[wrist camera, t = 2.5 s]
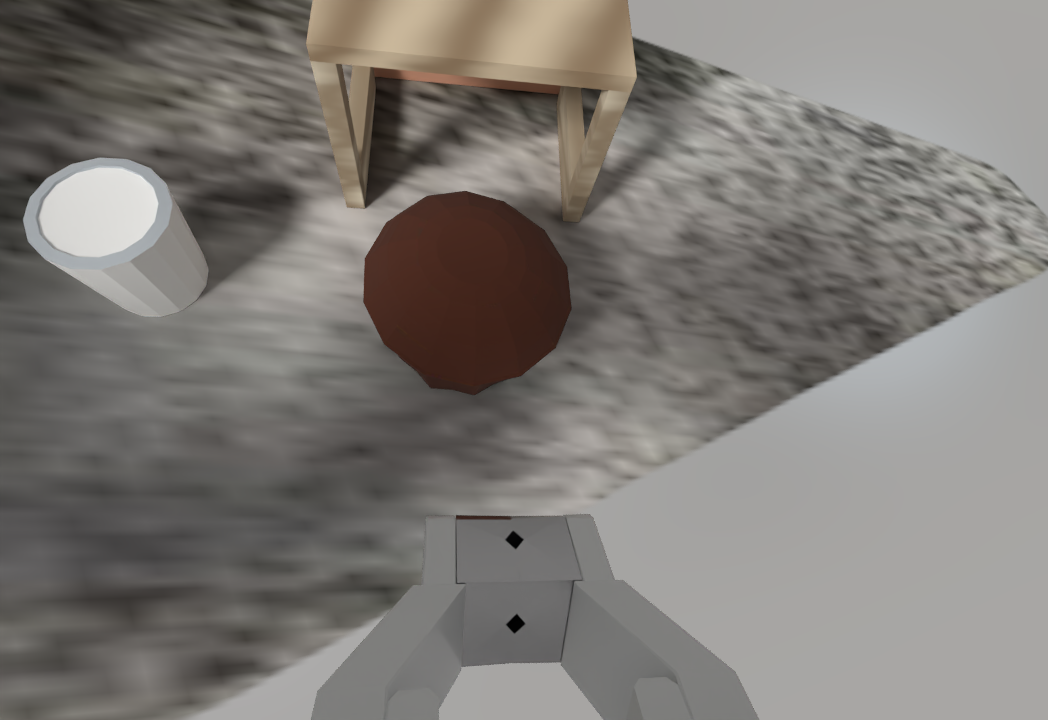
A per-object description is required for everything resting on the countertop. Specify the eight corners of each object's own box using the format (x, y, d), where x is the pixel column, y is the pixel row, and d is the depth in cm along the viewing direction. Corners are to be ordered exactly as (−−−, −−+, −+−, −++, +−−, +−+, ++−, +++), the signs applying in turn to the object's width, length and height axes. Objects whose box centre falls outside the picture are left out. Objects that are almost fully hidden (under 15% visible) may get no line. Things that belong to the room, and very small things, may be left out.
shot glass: (215, 223, 37) (168, 149, 31) (223, 316, 35) (174, 258, 29) (98, 237, 36) (23, 162, 29) (99, 335, 34) (18, 278, 27)
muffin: (347, 289, 37) (316, 193, 28) (496, 231, 40) (514, 128, 31) (425, 449, 34) (421, 402, 25) (580, 373, 37) (627, 307, 28)
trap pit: (363, 75, 43) (361, 59, 42) (368, 27, 45) (366, 10, 44) (568, 95, 45) (572, 80, 44) (565, 49, 47) (569, 33, 46)
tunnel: (346, 207, 39) (306, 43, 27) (359, 85, 43) (329, -106, 31) (579, 222, 41) (636, 77, 29) (571, 105, 45) (619, -66, 33)
